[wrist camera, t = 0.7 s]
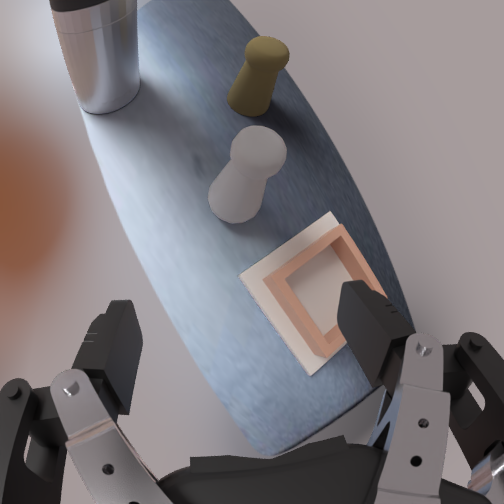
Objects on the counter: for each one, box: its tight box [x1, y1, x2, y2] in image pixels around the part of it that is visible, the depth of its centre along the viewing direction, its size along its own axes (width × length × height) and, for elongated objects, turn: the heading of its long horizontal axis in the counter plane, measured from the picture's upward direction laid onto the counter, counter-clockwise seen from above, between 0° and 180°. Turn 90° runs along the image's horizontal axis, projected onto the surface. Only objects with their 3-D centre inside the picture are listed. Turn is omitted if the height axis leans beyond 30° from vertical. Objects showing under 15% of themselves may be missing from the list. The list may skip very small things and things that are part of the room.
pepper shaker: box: [227, 36, 289, 117], centre depth 31 cm, size 6×6×11 cm
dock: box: [238, 211, 387, 376], centre depth 31 cm, size 14×14×4 cm
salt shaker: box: [208, 126, 287, 224], centre depth 26 cm, size 6×6×13 cm
